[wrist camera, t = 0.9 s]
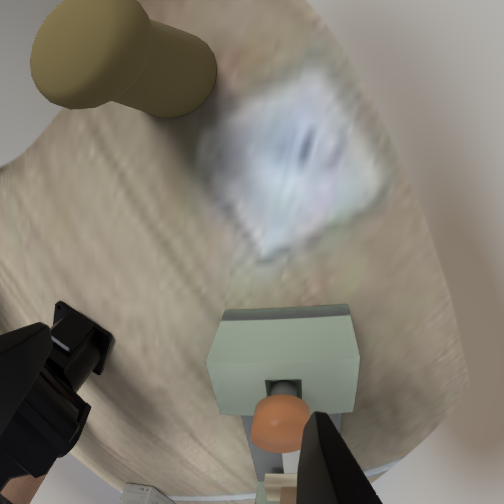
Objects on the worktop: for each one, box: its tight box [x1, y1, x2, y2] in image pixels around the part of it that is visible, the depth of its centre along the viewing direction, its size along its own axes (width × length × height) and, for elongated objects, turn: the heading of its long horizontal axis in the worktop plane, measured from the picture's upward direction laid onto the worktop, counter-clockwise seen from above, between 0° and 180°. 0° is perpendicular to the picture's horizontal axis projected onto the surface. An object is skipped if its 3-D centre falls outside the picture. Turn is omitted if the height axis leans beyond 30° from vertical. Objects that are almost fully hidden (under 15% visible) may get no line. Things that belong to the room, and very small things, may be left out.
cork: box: [30, 0, 217, 118], centre depth 13 cm, size 6×6×11 cm
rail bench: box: [205, 304, 360, 504], centre depth 25 cm, size 30×9×6 cm, turn 6°
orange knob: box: [250, 380, 310, 453], centre depth 17 cm, size 3×3×4 cm
